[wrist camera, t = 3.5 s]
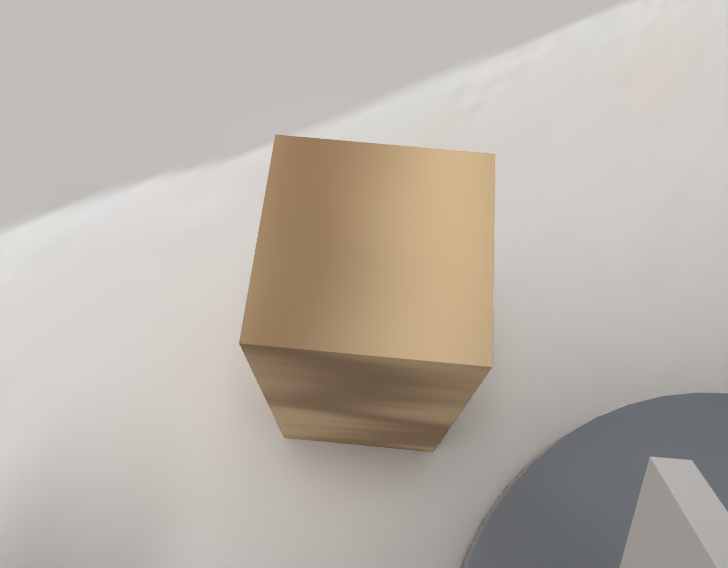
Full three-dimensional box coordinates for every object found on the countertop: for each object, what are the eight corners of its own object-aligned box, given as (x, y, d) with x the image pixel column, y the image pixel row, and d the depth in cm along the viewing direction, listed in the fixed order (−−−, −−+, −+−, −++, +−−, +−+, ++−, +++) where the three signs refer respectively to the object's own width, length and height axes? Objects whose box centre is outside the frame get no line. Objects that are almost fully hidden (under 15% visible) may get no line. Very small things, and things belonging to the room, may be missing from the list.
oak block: (439, 312, 24) (495, 153, 15) (433, 451, 22) (491, 367, 13) (303, 299, 24) (275, 134, 15) (284, 437, 22) (239, 343, 13)
